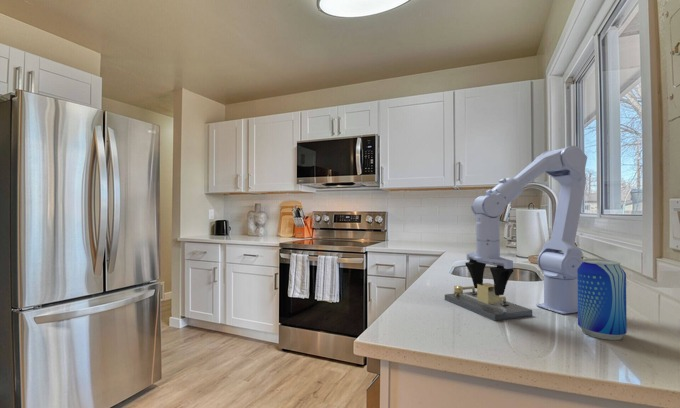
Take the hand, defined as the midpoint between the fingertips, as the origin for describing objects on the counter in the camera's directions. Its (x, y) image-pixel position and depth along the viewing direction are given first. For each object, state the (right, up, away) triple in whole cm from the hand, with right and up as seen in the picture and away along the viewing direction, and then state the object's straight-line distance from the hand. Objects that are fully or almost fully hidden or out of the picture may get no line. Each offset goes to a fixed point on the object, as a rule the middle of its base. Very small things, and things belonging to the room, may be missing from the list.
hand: (488, 291), depth 88 cm
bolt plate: (+1, -6, +5) cm, 7 cm away
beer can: (+18, -6, -15) cm, 24 cm away
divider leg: (+2, -4, +1) cm, 4 cm away
